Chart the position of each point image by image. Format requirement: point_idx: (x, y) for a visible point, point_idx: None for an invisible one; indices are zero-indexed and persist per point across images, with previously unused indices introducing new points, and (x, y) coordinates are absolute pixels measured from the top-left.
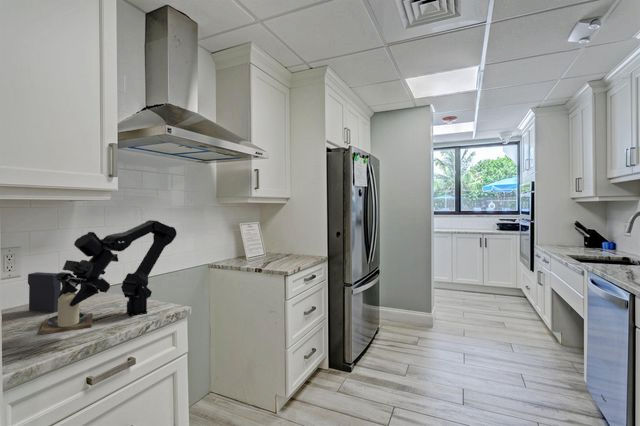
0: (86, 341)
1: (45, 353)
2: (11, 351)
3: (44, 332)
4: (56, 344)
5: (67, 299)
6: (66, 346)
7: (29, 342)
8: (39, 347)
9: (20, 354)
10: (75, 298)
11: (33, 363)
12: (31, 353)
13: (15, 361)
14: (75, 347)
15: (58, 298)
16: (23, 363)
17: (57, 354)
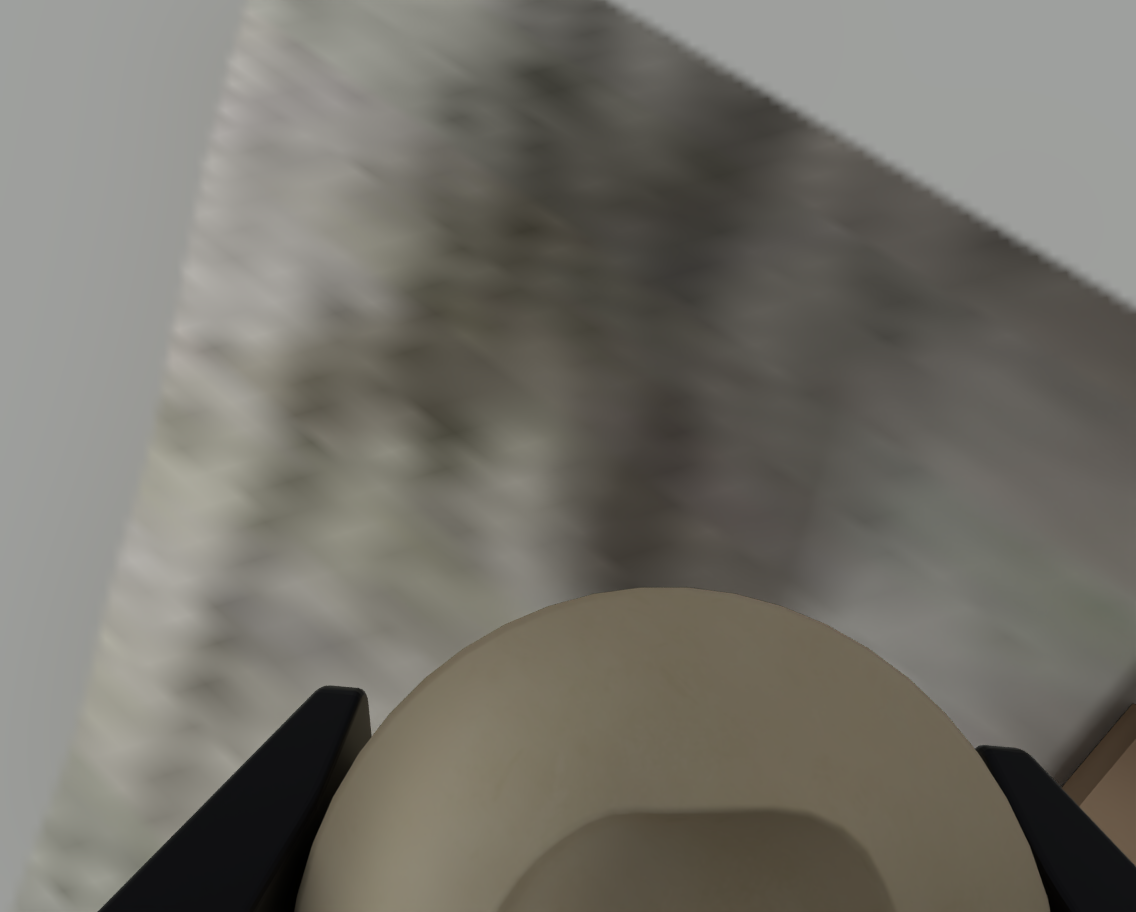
0: (217, 707)
1: (400, 257)
2: (855, 184)
3: (1107, 755)
4: (531, 501)
5: (428, 708)
6: (339, 489)
7: (951, 446)
8: (650, 364)
9: (660, 156)
10: (146, 866)
11: (281, 40)
12: (563, 210)
13: (521, 20)
14: (193, 499)
15: (907, 700)
16: (386, 12)
17: (231, 277)
